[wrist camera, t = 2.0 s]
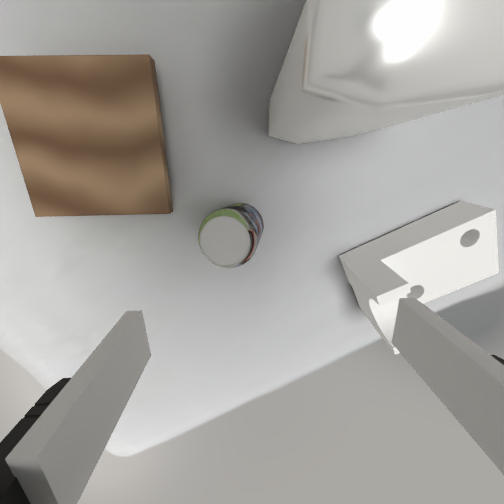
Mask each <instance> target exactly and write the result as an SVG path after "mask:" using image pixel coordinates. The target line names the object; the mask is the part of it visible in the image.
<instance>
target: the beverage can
mask: <svg viewBox="0 0 504 504" xmlns="http://www.w3.org/2000/svg"><path fill="white" fill-rule="evenodd" d="M262 232H263V220H262V217H261V215H260V213H259V212H258V211H257V210H256V209H255V208H254V207H252V206H250V205H248V204H243V203H239V204H234V205H231V206H228V207H225V208H222V209H219V210H217V211H214V212H212V213H211V214H210V215H208V216H207V217H206V218H205V219H204V221H203V222H202V224H201V227H200V229H199V237H198V239H199V245H200V248H201V250H202V252H203V254H204V255H205V257H206V258H207V259H208V260H209V261H211V262H212V263H214V264H216V265H218V266H221V267H226V268H233V267H238V266H240V265H243V264H244V263H246V262H247V261H248V260H249V259H250V258H251V257H252V256H253V254H254V252H255V250H256V248H257V245H258V243H259V240H260V238H261V235H262Z"/></svg>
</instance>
